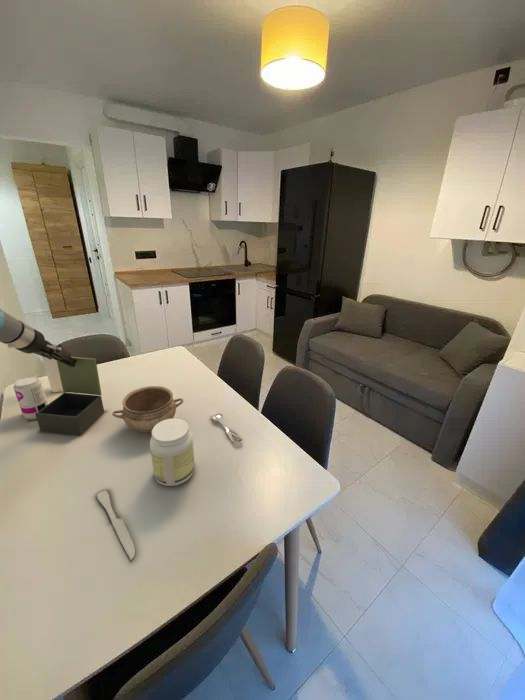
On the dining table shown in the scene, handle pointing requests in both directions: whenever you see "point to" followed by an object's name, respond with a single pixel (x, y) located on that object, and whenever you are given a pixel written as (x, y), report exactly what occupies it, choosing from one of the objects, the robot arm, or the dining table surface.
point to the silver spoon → (220, 419)
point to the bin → (70, 413)
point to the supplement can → (30, 396)
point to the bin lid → (80, 376)
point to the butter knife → (117, 524)
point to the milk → (53, 374)
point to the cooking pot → (148, 407)
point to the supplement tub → (172, 452)
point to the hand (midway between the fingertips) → (73, 363)
